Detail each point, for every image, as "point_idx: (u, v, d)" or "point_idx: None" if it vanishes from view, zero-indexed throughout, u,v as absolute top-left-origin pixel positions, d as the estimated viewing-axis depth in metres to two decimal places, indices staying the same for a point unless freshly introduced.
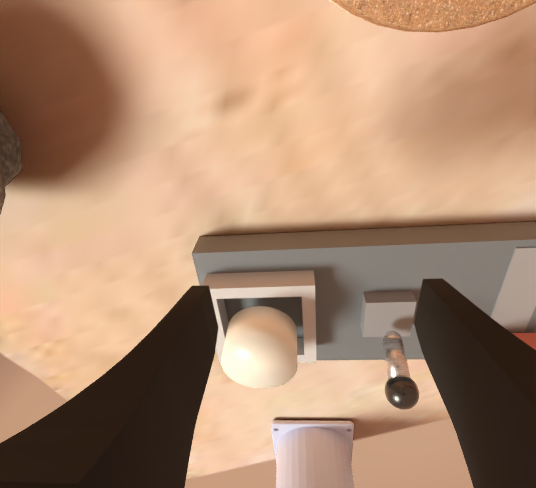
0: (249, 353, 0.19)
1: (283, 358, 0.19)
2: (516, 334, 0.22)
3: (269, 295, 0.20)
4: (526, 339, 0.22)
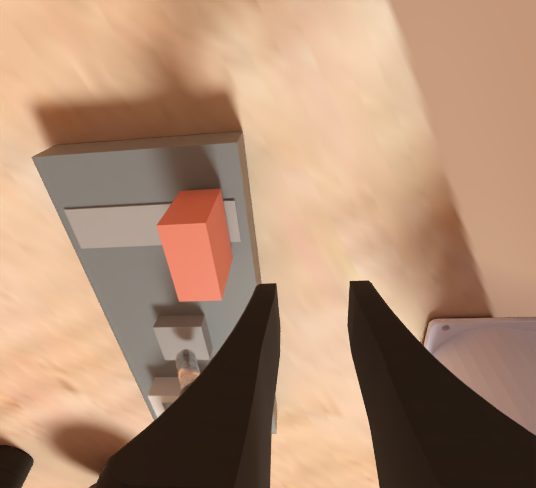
0: None
1: None
2: None
3: None
4: None
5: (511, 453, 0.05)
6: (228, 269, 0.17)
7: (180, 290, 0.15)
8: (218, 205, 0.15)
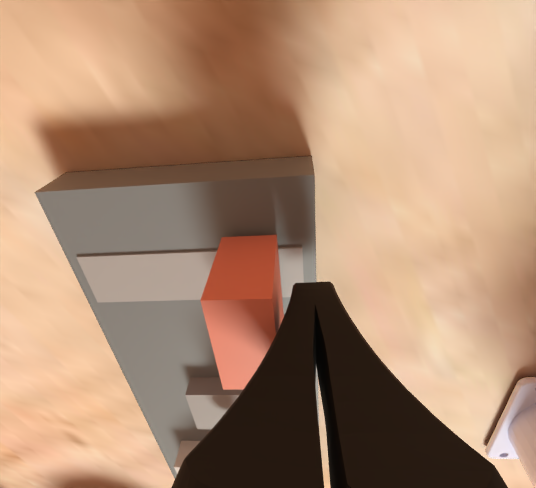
0: None
1: None
2: None
3: None
4: None
5: (425, 452, 0.05)
6: None
7: (226, 377, 0.11)
8: (276, 260, 0.11)
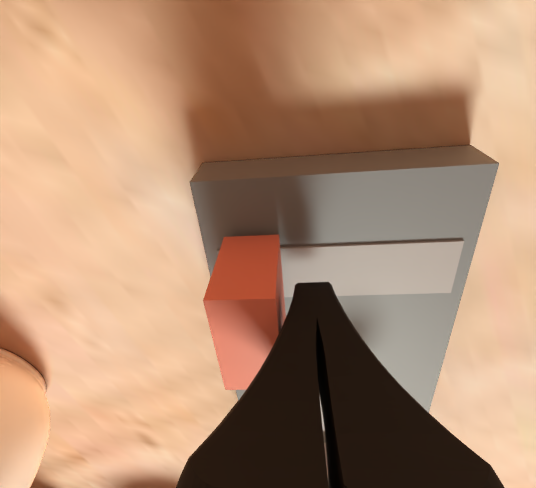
0: None
1: None
2: None
3: None
4: None
5: (421, 452, 0.05)
6: None
7: (228, 377, 0.11)
8: (279, 259, 0.11)
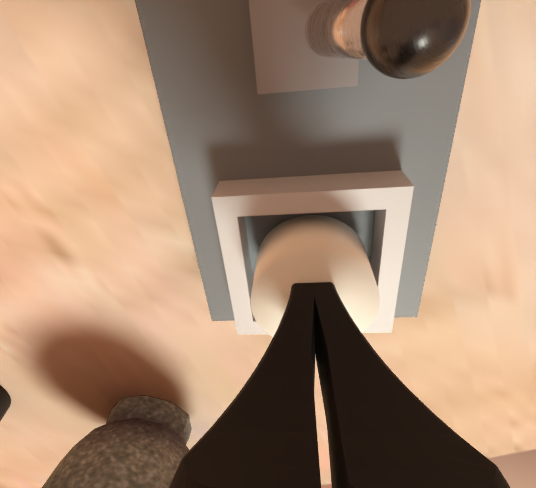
0: None
1: (296, 272, 0.11)
2: None
3: (240, 260, 0.13)
4: None
5: (427, 452, 0.05)
6: None
7: None
8: None
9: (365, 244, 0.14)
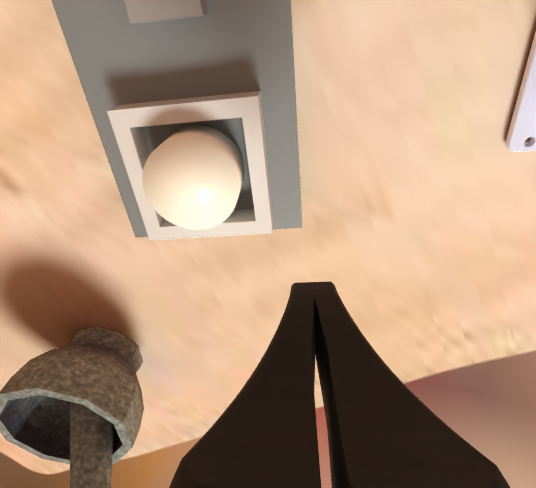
0: (172, 198, 0.16)
1: (170, 158, 0.15)
2: None
3: (139, 168, 0.16)
4: None
5: (427, 452, 0.05)
6: None
7: None
8: None
9: (246, 159, 0.17)
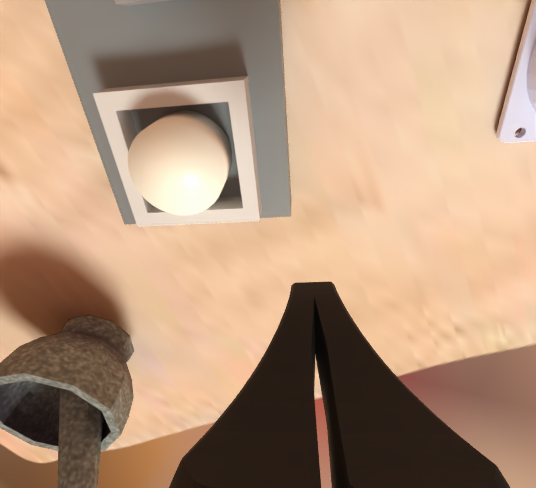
0: (158, 182, 0.16)
1: (156, 141, 0.15)
2: None
3: (125, 152, 0.16)
4: None
5: (427, 452, 0.05)
6: None
7: None
8: None
9: (234, 146, 0.17)
